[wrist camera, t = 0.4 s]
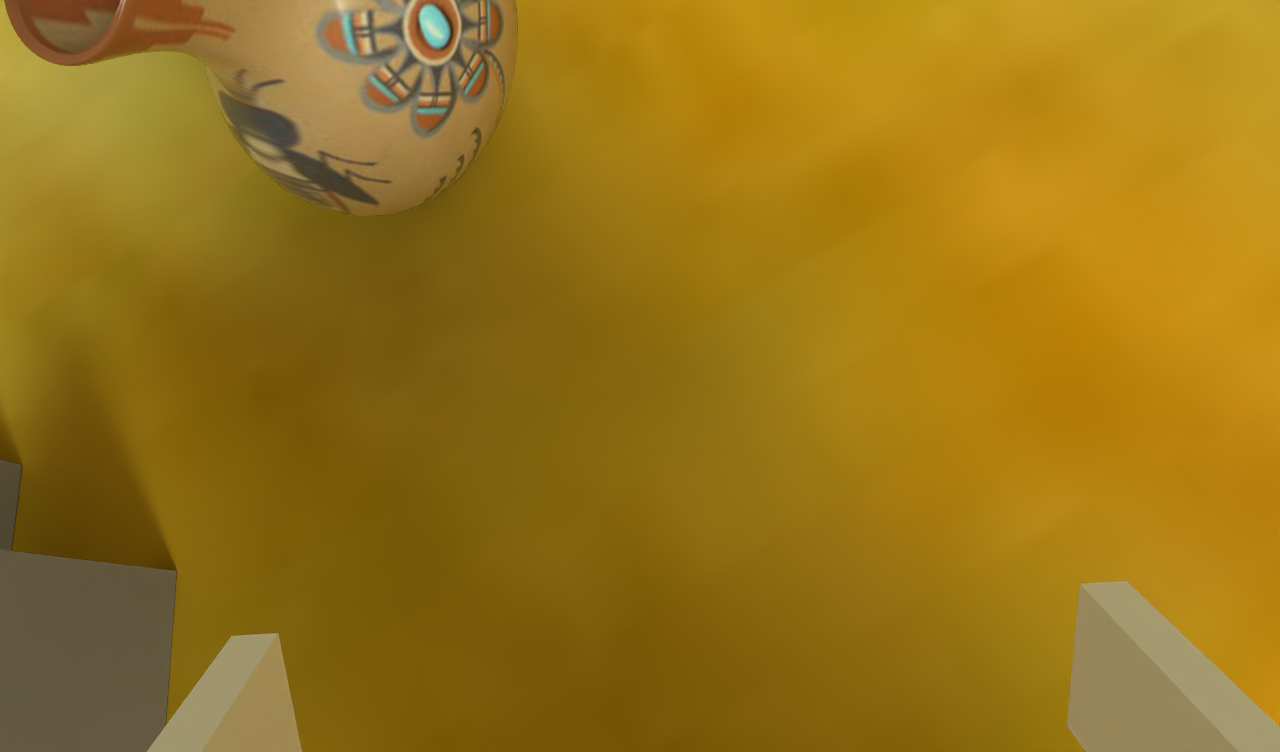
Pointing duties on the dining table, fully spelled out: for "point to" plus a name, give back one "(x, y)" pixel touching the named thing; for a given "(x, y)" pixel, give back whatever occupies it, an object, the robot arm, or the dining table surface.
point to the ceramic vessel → (319, 82)
